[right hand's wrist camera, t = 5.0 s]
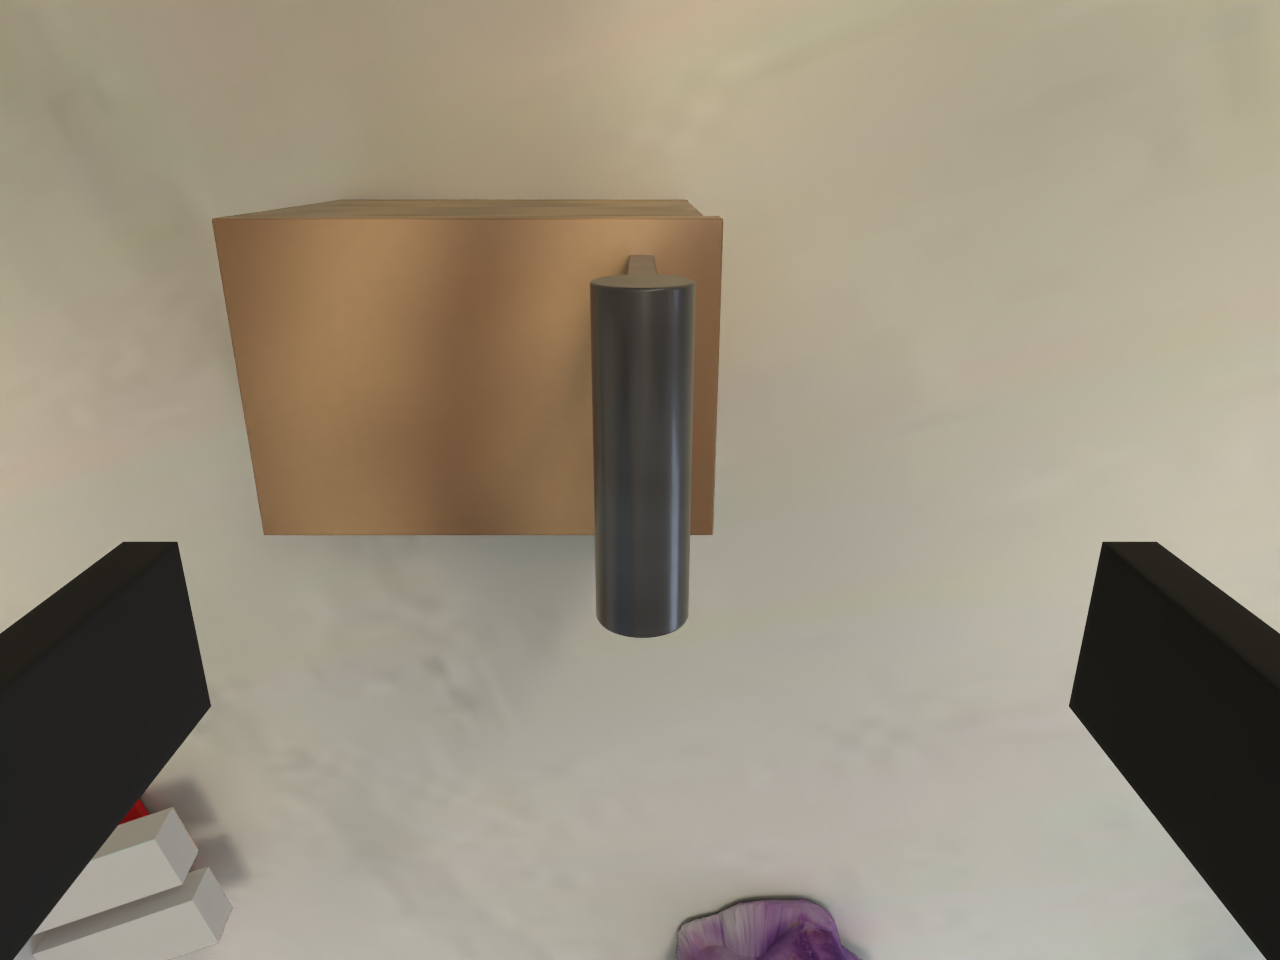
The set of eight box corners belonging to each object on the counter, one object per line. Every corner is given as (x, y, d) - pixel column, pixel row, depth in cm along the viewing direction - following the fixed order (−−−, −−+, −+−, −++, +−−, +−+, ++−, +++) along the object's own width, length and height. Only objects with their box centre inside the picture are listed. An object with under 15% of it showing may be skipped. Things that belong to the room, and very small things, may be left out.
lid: (719, 216, 25) (759, 245, 17) (710, 522, 28) (739, 670, 20) (228, 215, 25) (29, 244, 17) (277, 522, 28) (130, 670, 20)
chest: (687, 199, 34) (705, 215, 25) (683, 431, 37) (697, 521, 28) (339, 199, 34) (229, 215, 25) (366, 431, 37) (277, 521, 28)
